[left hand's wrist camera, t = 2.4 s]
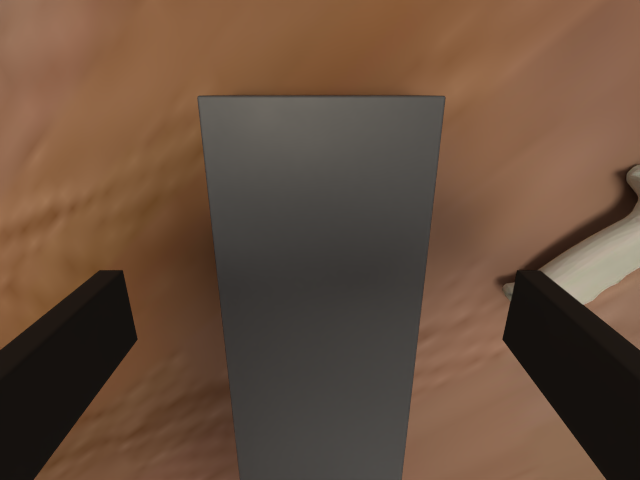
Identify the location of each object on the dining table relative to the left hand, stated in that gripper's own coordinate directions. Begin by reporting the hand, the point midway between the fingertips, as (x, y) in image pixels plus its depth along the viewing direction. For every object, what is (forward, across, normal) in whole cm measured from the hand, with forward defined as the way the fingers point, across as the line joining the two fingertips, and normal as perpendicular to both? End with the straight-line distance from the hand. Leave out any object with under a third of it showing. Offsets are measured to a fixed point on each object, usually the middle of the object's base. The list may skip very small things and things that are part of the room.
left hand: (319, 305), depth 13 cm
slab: (+12, 0, -33) cm, 35 cm away
